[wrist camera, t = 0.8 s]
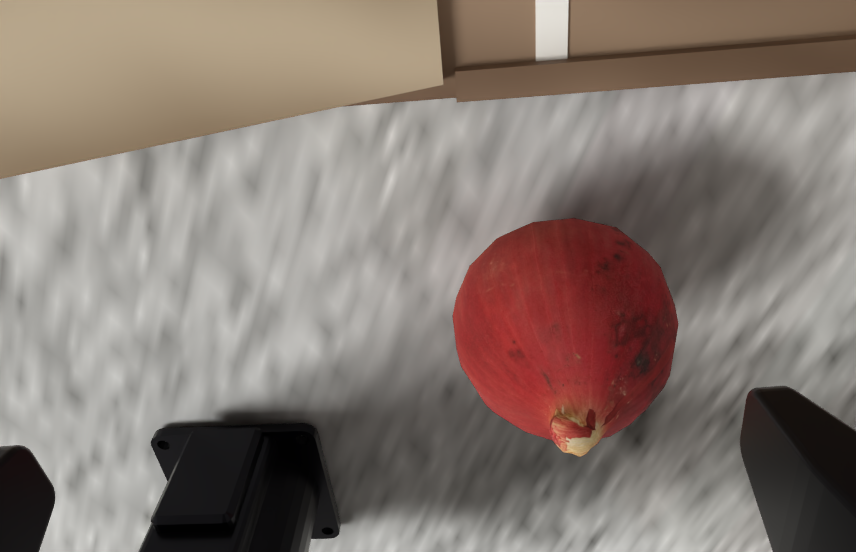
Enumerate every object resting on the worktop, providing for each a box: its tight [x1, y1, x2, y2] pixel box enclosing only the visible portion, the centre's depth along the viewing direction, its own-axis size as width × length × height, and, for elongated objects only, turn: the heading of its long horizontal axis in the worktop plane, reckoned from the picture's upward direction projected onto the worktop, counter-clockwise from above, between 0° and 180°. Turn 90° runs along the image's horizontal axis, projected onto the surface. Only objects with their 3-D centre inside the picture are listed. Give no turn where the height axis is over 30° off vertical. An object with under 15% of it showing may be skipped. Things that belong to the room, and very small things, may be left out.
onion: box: [453, 218, 678, 457], centre depth 18 cm, size 6×6×8 cm
